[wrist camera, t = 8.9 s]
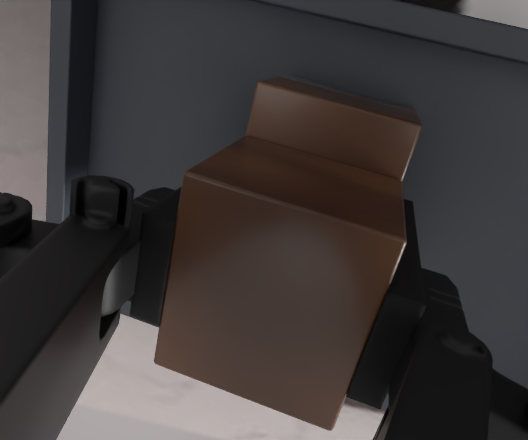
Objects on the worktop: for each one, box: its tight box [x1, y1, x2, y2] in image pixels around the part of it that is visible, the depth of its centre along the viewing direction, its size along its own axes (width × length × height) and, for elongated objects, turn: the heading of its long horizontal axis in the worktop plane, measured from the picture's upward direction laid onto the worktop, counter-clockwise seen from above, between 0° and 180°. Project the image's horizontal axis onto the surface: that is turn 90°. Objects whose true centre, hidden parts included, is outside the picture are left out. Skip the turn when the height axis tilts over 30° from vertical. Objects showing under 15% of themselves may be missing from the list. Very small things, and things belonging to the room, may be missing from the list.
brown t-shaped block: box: [154, 74, 422, 431], centre depth 13 cm, size 4×8×8 cm, turn 167°
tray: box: [46, 0, 528, 410], centre depth 16 cm, size 22×14×2 cm, turn 78°
